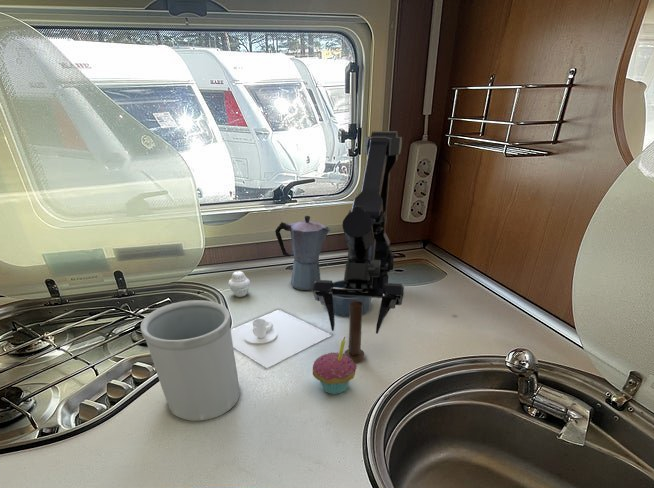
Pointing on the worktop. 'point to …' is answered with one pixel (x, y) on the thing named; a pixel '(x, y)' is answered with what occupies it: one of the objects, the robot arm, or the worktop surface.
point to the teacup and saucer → (275, 337)
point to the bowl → (348, 302)
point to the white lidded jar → (239, 284)
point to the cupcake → (334, 370)
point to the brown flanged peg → (355, 332)
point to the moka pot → (304, 251)
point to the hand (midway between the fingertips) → (354, 331)
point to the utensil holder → (193, 357)
